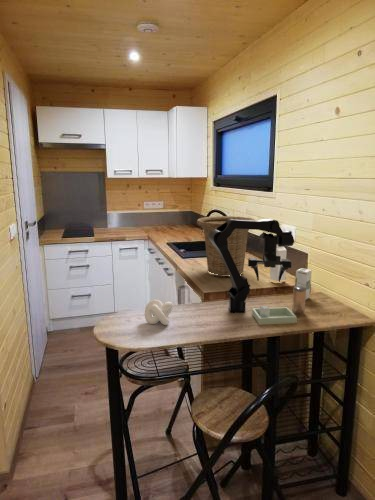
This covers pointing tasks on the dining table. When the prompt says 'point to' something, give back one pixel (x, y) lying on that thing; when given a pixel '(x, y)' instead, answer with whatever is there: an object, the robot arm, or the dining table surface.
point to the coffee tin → (299, 300)
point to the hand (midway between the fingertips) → (268, 281)
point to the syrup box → (304, 280)
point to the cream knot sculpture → (158, 312)
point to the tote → (275, 316)
